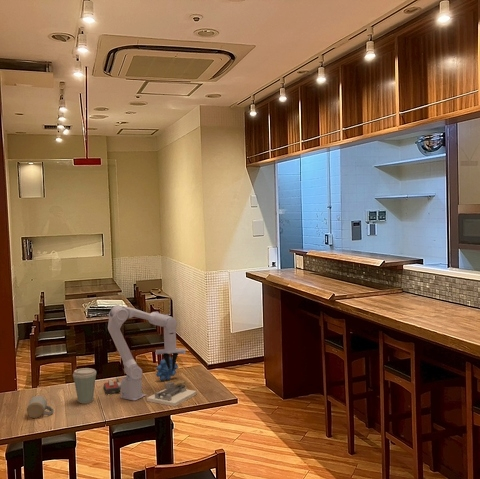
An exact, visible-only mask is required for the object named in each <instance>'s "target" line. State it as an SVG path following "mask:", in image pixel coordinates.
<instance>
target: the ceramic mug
mask: <svg viewBox="0 0 480 479" xmlns="http://www.w3.org/2000/svg"><path fill="white" fill-rule="evenodd" d="M54 411H55V409H54V408H52V407H51V406H49V405H48V401H47V399H46V398H45V396H43V395H33V396H32V397H31V398H30V399H29V401H28V404H27V407H26V413H27V416H28V417H30V418H31V419H39V418H40V417H42V416H43V415H46V416H52V415H53V413H54Z"/></svg>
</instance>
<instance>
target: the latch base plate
mask: <svg viewBox="0 0 480 479" xmlns="http://www.w3.org/2000/svg"><path fill="white" fill-rule="evenodd" d="M164 384H165V388H164V389H162V390H160V391H156V392H154V394H152V395H150V396H147V398H146V402H151V403H155V404H159V405H166V406H169V407H170V406H171V407H176V406H178V405H180V404H182V403H183V402H185V401H187V400H189V399H191V398H192V397H194V396H196V395H197V393H198V392H197V390H193V389H187V387H186V386H185V387H184V388H182V389H180V390H178V391H176V392H174V393H172V394H167V395H166V397H164V396H159V393H161V392H163V391H165V390H167V389H169V388H171V387H173V386H175V382H173V381H168V382H166V383H164Z"/></svg>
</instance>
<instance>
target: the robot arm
mask: <svg viewBox="0 0 480 479" xmlns="http://www.w3.org/2000/svg"><path fill="white" fill-rule="evenodd" d="M134 317H135V318H139V319H143V320H147V321H148V323H149V324H151V325H154V326H158V327H162V328H163V342H164V343H163V344H164V348H162V349H155V356H157V355H162V358H163V359H165V361H166V363H167V367H168V369H170V357H171V359H172V368H173V369H174V368H175V364H176V363H177V358H178V356H179V354H181V355H186V351H187V350H186V348H177V333H176V328H177V326H178V322H177V320H176V318H174V317H173V316H170V315H169V314H162V313H160V312H159V311H152V312H150V313H149V312H146V311H142V310H140V309H137V308H134V307H130V306H123V305H122V306H121V305H119V304H118V305H114V306H113V307H112V308H111V309H110V311H109V313H108V322H107V330H108V332H109V334H110V336H111V338H112V340H113V343H114V345H115V348H116V350H117V352H118V354H119V356H120V358H121V360H122V364H123V367H124V368H123V370H124V373H125V374H126V376H124V377H123V378H122V379H121V381H120V382H121V389H120V393H121V395H120V396H119V397H120V398H121V399H125V400H130V401H138V400H139V399H142V398H144V397H146V396H147V394H145V393H143V386H142V376H143V369H142V368H141V367H140V366H139V365H138V364H137V362H136V360H135V359H134V357H133V355H132V354H133V353H131V350H130V348H129V346H128V344H127V341H126V340H125V338H124V335H123V333H122V331H121V328H122V325H123V324H124V323H125V322H126V321H127V319H131V318H134ZM175 362H176V363H175Z"/></svg>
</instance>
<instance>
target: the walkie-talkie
mask: <svg viewBox="0 0 480 479" xmlns="http://www.w3.org/2000/svg"><path fill="white" fill-rule="evenodd" d="M115 380H116V381H114V380H113V379H110V380H107V382H104V383H103V389H104V393H105V395H106V394H107V395H106V396H108V394H110V395H115V394H117V395H118V394H120V393H121V382H122V381H120V380H119V378H116V379H115Z"/></svg>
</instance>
